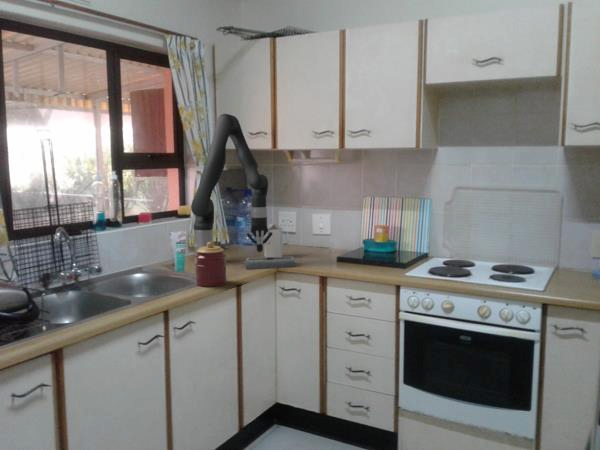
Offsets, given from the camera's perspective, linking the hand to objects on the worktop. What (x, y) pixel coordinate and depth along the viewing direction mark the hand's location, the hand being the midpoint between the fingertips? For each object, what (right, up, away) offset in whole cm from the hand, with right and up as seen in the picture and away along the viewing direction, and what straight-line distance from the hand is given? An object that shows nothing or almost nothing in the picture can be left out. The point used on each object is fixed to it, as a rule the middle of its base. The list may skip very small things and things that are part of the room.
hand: (259, 251), depth 253 cm
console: (+5, -7, +2) cm, 9 cm away
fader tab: (+5, -5, +2) cm, 7 cm away
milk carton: (+6, -4, +24) cm, 25 cm away
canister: (-18, -12, -34) cm, 40 cm away
